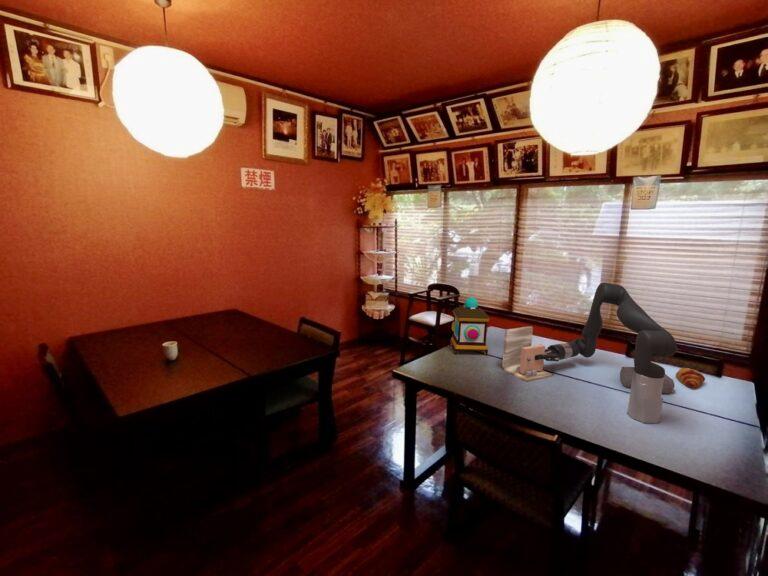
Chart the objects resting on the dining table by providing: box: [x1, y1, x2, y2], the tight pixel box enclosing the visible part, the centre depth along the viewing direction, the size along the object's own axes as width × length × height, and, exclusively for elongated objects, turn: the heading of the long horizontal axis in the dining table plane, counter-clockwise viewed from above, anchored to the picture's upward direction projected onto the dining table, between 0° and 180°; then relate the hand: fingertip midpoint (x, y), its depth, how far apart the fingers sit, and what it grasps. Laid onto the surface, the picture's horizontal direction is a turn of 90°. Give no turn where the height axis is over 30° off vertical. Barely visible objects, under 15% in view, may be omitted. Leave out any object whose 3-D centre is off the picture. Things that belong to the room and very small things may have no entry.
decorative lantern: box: [450, 296, 491, 356], centre depth 204 cm, size 20×20×30 cm
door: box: [520, 343, 546, 374], centre depth 173 cm, size 3×12×12 cm, turn 114°
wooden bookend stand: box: [501, 326, 553, 383], centre depth 175 cm, size 16×16×20 cm
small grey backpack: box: [619, 366, 676, 395], centre depth 164 cm, size 15×8×20 cm
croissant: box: [675, 367, 706, 389], centre depth 170 cm, size 21×10×8 cm, turn 147°
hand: (532, 356), depth 173 cm, fingers closed on door, 2 cm apart
